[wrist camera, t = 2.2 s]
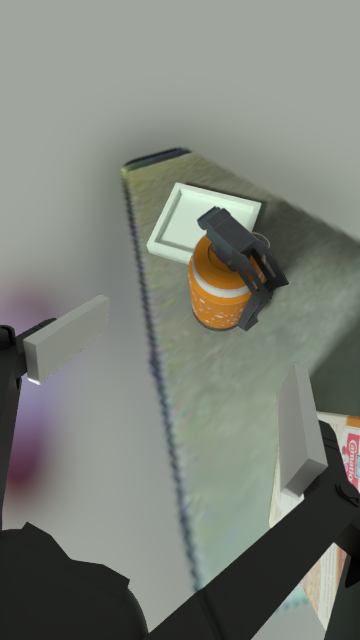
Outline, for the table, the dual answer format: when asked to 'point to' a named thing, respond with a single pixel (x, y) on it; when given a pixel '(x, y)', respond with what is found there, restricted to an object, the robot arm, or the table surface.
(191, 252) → the tray
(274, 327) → the table surface
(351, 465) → the coffeecake box
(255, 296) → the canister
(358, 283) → the table surface
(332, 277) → the table surface
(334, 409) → the table surface
